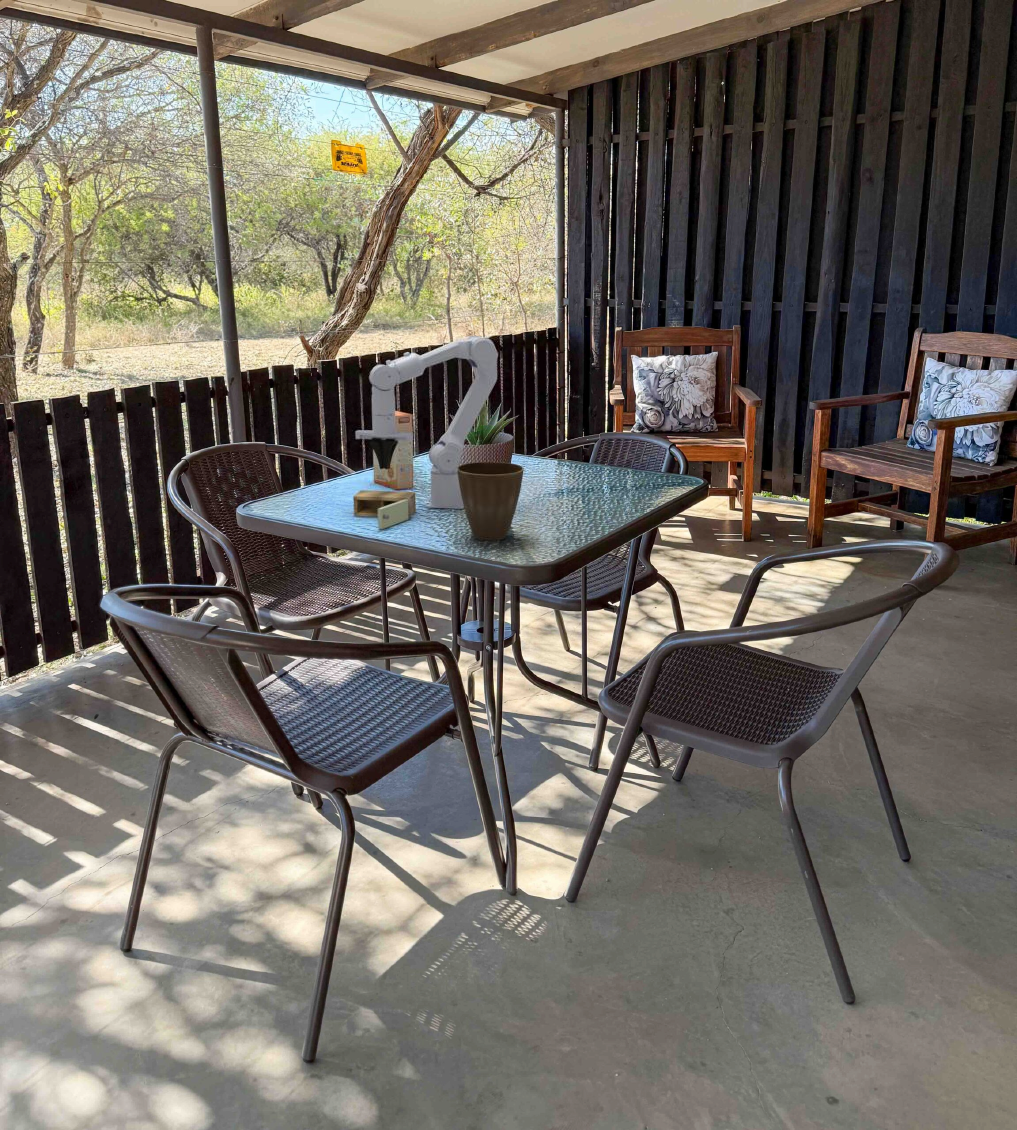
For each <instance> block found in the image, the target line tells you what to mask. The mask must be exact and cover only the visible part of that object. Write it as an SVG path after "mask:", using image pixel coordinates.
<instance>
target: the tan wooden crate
mask: <svg viewBox="0 0 1017 1130" xmlns="http://www.w3.org/2000/svg"><path fill="white" fill-rule="evenodd" d="M352 497H353V499H352V500H353V516H354V517H373V518H378V509H379V508H382V507H384V506H387V505H390V504H393V503H396V502H399V501H402V500H404V499H405V500H406V498H411V517H413V515H414V514H415V513H416V512H417V509H416V504H417V503H416V491H391V490H390V491H389V490H388V491H387V490H386V491H385V490H364V489H362V490H359V491H358V492H357V493H355V494H354V495H353V496H352Z"/></svg>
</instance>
